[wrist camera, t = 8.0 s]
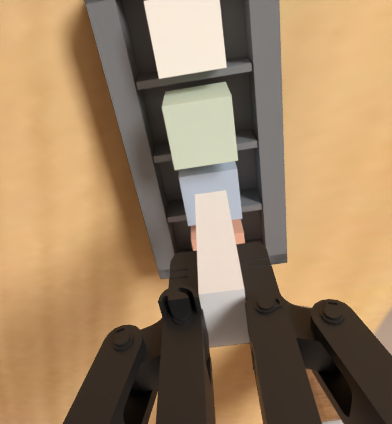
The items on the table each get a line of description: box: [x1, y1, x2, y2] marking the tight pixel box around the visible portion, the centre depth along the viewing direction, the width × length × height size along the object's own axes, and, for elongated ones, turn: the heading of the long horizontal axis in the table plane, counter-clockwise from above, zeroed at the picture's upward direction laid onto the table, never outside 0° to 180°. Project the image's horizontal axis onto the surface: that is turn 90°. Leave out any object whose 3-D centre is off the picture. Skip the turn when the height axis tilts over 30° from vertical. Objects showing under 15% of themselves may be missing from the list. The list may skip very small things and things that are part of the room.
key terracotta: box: [191, 219, 245, 251], centre depth 24 cm, size 3×3×3 cm
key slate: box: [179, 161, 242, 226], centre depth 22 cm, size 3×3×3 cm
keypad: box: [85, 0, 287, 279], centre depth 22 cm, size 18×9×2 cm, turn 9°
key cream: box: [144, 0, 227, 79], centre depth 17 cm, size 3×3×3 cm
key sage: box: [162, 82, 238, 170], centre depth 19 cm, size 3×3×3 cm
